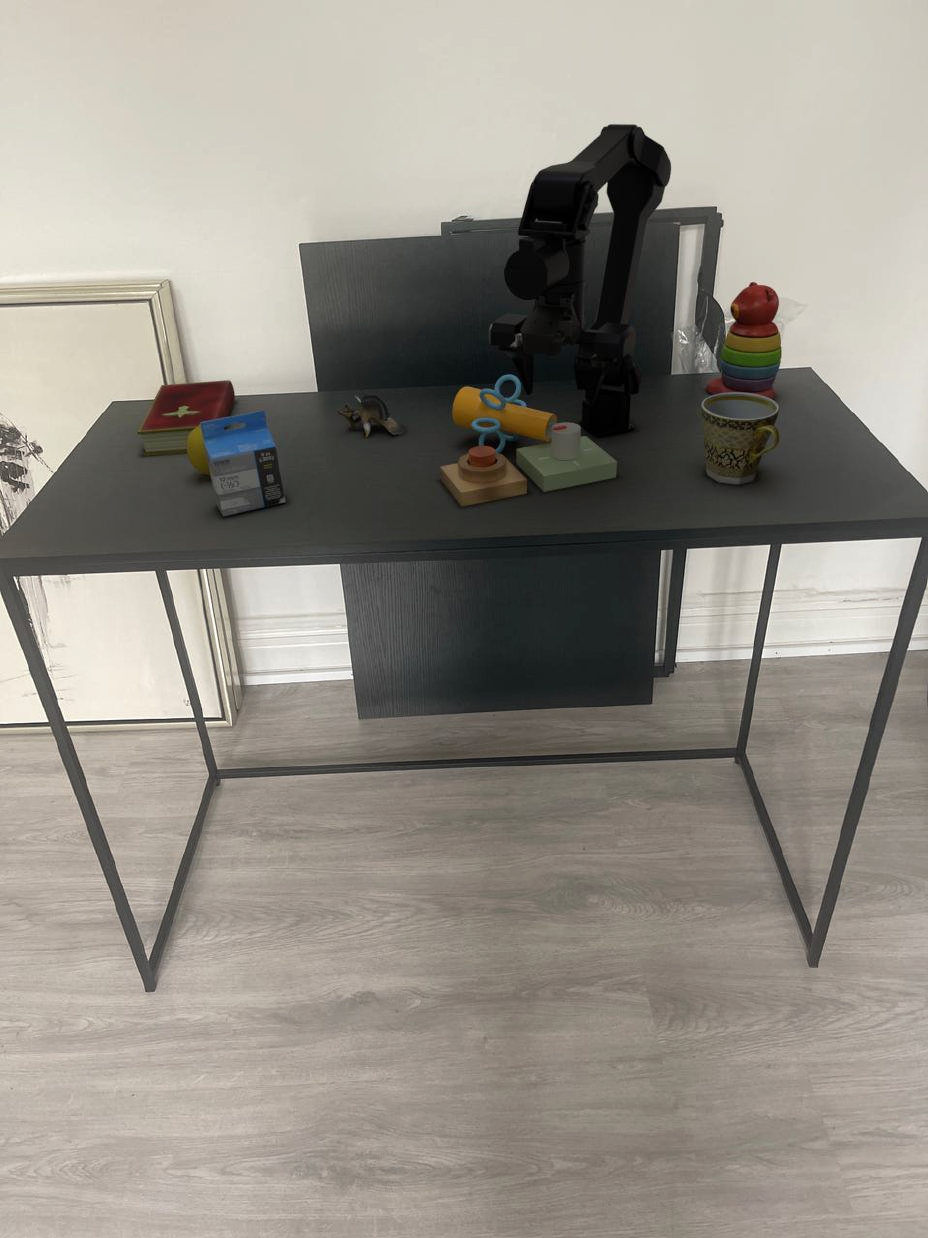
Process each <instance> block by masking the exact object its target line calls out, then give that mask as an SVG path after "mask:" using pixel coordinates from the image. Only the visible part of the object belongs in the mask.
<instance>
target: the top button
mask: <svg viewBox="0 0 928 1238" xmlns="http://www.w3.org/2000/svg"><path fill="white" fill-rule="evenodd" d="M495 450H496V448H494V447H492V446H488V445H484V446H479V445H478V446H477V445H476V446H474V447H472V448H470V449H469V450H468V453H469V464H470V466H474V467H488V466H492V465H494V464H495Z"/></svg>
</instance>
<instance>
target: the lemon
mask: <svg viewBox="0 0 928 1238" xmlns="http://www.w3.org/2000/svg"><path fill="white" fill-rule="evenodd" d="M187 457H188V460H189V462H190V464H191V465H192V467H193V468H194V469H195V470H196V471H198V472H199V473H201V474H204V475H207V476H209V477H211V474H210V470H209V465H208V461H207V457H206V453H205V449H204V444H203V435H202V431H201V426H200V425H199V426H198V427H197V428H195V429H194V430H192V431H191V433H190V434H189V436H188V439H187Z"/></svg>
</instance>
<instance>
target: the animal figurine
mask: <svg viewBox="0 0 928 1238" xmlns="http://www.w3.org/2000/svg"><path fill="white" fill-rule="evenodd" d="M354 398H355V399H356V401H357V402H358V405H359V408H357V409H355V410H353V406H352V405H350V404H349V403H346V404H344V405H343V407H342V408H343V411H342V410H340V409H338V408H335V410H336V413H337V414H338V415H339V416H342V417H344V418H346V420H347V421H348V422H349V424H350V428H351V429H354V428H355V427H356V425H357V424H358V423H361V424H362V426H363V430H364V433H365V438H368V437H369V436H370V435H369V434H370V433H371V424H372V423H373V424H375V423H376V424H378V425H380V426H381V427H384V428H385V430H387V431H388V432H389V433H390V434H391V435H393V436H399V435H403V434H404V429H403V426H401V424H400V423H398V421H396V420H395V419H393V417H391V413H390V411H389V407H388V405H387V404H386V402H385V401H384V400H383V399H382V398H381V397H380V396H378V395H372V394H368V395H367V394H365V395H363V397H362V398H361V399H360V398H359V397H358V396H356V395H354ZM354 416H358V417H356V418H355V419H354Z"/></svg>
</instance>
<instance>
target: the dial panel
mask: <svg viewBox="0 0 928 1238" xmlns="http://www.w3.org/2000/svg"><path fill="white" fill-rule="evenodd" d="M515 452H516V466H518V467H519V469H521V471H523V472H524V473H525V474H526V475H527V476H528V478H530V479H531V480H532V482H533V483H534V484H536V486H538V488H540V490H541V491H542V492H543V493H545V492H549V491H551V492H552V491H555V490H560V489H564V488H571V487H575V486H580V485H586V484H589V483H595V482H600V481H604V480H610V479H615V478H617V469H618V461H617V460H616V459H614V457H612V456H611V455H610V454H608V453H607V452H606V451H605V450H604V449H602V448H601V447H600V446H599V445H598V444H596V443H595V442H593V440H592V439H590V438H589V437H588V436H587V435H583V436H581V438H580V456H579V457H578V458H576V459H573V460H559V459H555V458H554V457H552V441H549V442H545V443H541V444H535V445H530V446H529V445H528V446H524V447H519V448H516V451H515Z"/></svg>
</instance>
